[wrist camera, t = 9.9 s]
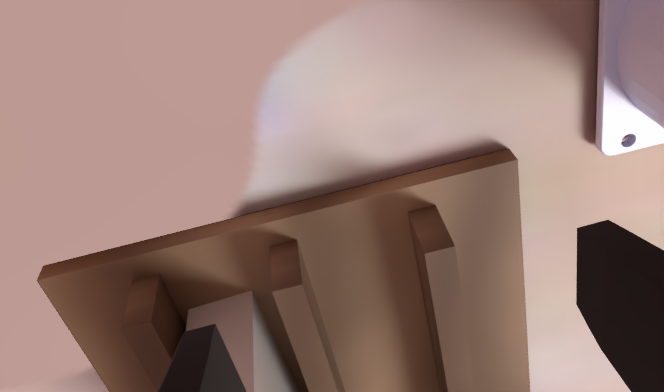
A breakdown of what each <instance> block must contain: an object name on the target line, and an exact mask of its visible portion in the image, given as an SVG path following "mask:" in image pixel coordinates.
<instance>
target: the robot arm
mask: <svg viewBox="0 0 664 392" xmlns="http://www.w3.org/2000/svg"><path fill="white" fill-rule="evenodd" d="M628 134H630V135H629V138H628V139H627V140H625V141H623V142H621V141H622V139H623V138H624V136H626V135H628ZM662 143H664V0H600V8H599V42H598V76H597V111H596V147H597V149H598V150H599V151H600V152H601V153H602V154H603V155H606V156H614V155H618V154H622V153H626V152H630V151H634V150H638V149H642V148H646V147H650V146H654V145H658V144H662ZM576 304H577V306H578V308H579V310H580V312H581V313H582V315H583V317H584V319H585V321H586V323H587V325H588V327H589V329H590V330H591V332H592V334H593V336H594V338H595V339H596V341H597V343H598V345H599V346H600V348H601V350H602V351H603V353H604V354H605V355H606V357H607V358H608V360H609V361H610V363H611V364H612V365H613V367H614V368H615V370H616V371H617V372H618V374H619V375H620V377H621V378H622V379H623V381H624V382H625V384H626V385H627V386H628V388H629V389H630V390H631V392H664V251H663V250H662V249H660V248H658V247H656V246H654V245H653V244H651V243H649V242H647V241H646V240H644V239H642V238H640V237H638V236H637V235H635V234H633V233H631V232H629V231H628V230H626V229H624V228H622V227H620V226H619V225H617V224H615V223H613V222H611V221H609V220H606V221H602V222H598V223H594V224H591V225H587V226H583V227H579V228H577V303H576ZM158 392H246V389H245V387H244V385H243V383H242V381H241V378H240V376H239V374H238V372H237V370H236V368H235V365H234V363H233V361H232V359H231V357H230V354H229V352H228V350H227V348H226V346H225V344H224V341H223V339H222V337H221V335H220V333H219V330H218V328H217V326H216V324H212V325H208V326H204V327H200V328H197V329H193V330H189V331H185V332H184V334H183V335H182V337H181V339H180V341H179V344H178V346H177V348H176V351H175V353H174V356H173V358H172V360H171V363H170V365H169V367H168V370H167V372H166V374H165V376H164V379H163V381H162V383H161V385H160V388H159V390H158Z"/></svg>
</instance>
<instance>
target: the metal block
mask: <svg viewBox="0 0 664 392" xmlns="http://www.w3.org/2000/svg"><path fill="white" fill-rule="evenodd" d="M212 324H216V326H217V328H218V330H219V333H220V335H221V337H222V339H223V341H224V344H225V346H226V348H227V350H228V352H229V354H230V357H231V359H232V361H233V363H234V365H235V368H236V370H237V372H238V374H239V376H240V378H241V381H242V383H243V385H244V387H245V389H246V392H301V390H300V388H299V385H298V383H297V381H296V379H295V377H294V375H293V373H292V371H291V369H290V367H289V365H288V363H287V361H286V359H285V357H284V355H283V352H282V350H281V348H280V346H279V344H278V342H277V340H276V338H275V336H274V334H273V332H272V330H271V328H270V326H269V324H268V322H267V319H266V317H265V315H264V313H263V311H262V309H261V307H260V305H259V303H258V301H257V299H256V297H255V295H254V293H253V291H248V292H245V293H242V294H238V295H235V296H232V297H228V298H225V299H222V300H218V301H215V302H212V303H208V304H205V305H202V306H198V307H195V308H192V309H188V316H187V325H186V331H189V330H193V329H197V328H200V327H204V326H208V325H212Z"/></svg>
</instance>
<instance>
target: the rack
mask: <svg viewBox="0 0 664 392" xmlns="http://www.w3.org/2000/svg"><path fill="white" fill-rule="evenodd" d="M37 281H38V283H39V285H40V286H41V288H42V289H43V291H44V292H45V294H46V295H47V297H48V298H49V299H50V301H51V303H52V304H53V306H54V307H55V309H56V311H57V312H58V313H59V315H60V317H61V318H62V320H63V321H64V323H65V324H66V326H67V327H68V329H69V330H70V332H71V333H72V335H73V336H74V338H75V339H76V341H77V343H78V344H79V346H80V347H81V349H82V350H83V352H84V353H85V355H86V356H87V358H88V359H89V361H90V362H91V364H92V365H93V367H94V369H95V370H96V372H97V373H98V375H99V376H100V378H101V379H102V381H103V382H104V384H105V385H106V387H107V388H108V390H109V391H110V392H158V390H159V388H160V385H161V383H162V381H163V379H164V376H165V374H166V372H167V370H168V367H169V365H170V363H171V360H172V358H173V356H174V353H175V351H176V348H177V346H178V344H179V341H180V339H181V337H182V335H183V334H184V332H185V331H186V325H187V316H188V309H192V308H195V307H198V306H202V305H205V304H208V303H212V302H215V301H218V300H222V299H225V298H228V297H232V296H235V295H238V294H242V293H245V292H248V291H253V293H254V295H255V297H256V299H257V301H258V303H259V305H260V307H261V309H262V311H263V313H264V315H265V317H266V319H267V322H268V324H269V326H270V328H271V330H272V332H273V334H274V336H275V338H276V340H277V342H278V344H279V346H280V348H281V350H282V352H283V355H284V357H285V359H286V361H287V363H288V365H289V367H290V369H291V371H292V373H293V375H294V377H295V379H296V381H297V383H298V385H299V388H300V390H301V392H530V380H529V362H528V343H527V325H526V306H525V288H524V269H523V251H522V232H521V214H520V195H519V177H518V160H517V158H516V157H515V156H514V154H513V153H512V152H511V150H510V149H505V150H501V151H497V152H493V153H489V154H485V155H481V156H477V157H473V158H469V159H466V160H462V161H458V162H454V163H450V164H446V165H442V166H438V167H434V168H430V169H426V170H422V171H418V172H414V173H410V174H406V175H402V176H398V177H394V178H390V179H386V180H382V181H378V182H374V183H370V184H366V185H362V186H358V187H354V188H350V189H346V190H343V191H339V192H335V193H331V194H327V195H323V196H319V197H315V198H311V199H307V200H303V201H299V202H295V203H291V204H287V205H283V206H279V207H275V208H271V209H267V210H263V211H259V212H255V213H251V214H247V215H243V216H239V217H235V218H231V219H227V220H224V221H220V222H216V223H212V224H208V225H204V226H200V227H196V228H192V229H188V230H184V231H180V232H176V233H172V234H168V235H164V236H160V237H156V238H152V239H148V240H144V241H140V242H136V243H133V244H128V245H124V246H120V247H116V248H113V249H108V250H105V251H101V252H97V253H93V254H89V255H85V256H81V257H77V258H73V259H69V260H65V261H61V262H57V263H53V264H49V265H45V266H43V268H42V270H41V272H40V275H39V277H38V279H37Z"/></svg>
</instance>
